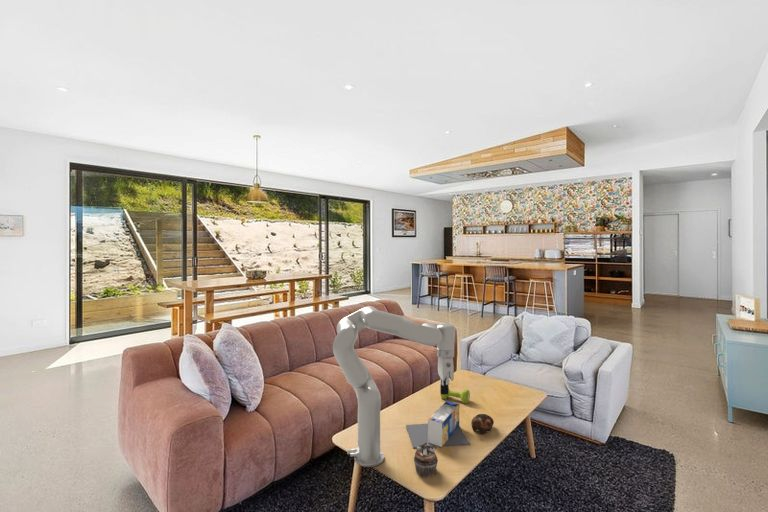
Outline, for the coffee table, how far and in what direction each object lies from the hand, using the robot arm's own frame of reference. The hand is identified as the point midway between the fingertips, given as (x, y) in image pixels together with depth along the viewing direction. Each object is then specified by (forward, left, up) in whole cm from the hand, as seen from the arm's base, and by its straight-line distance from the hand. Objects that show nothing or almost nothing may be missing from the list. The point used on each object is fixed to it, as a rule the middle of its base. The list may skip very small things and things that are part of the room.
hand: (444, 393), depth 164 cm
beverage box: (-4, +3, -19) cm, 20 cm away
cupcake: (-11, -14, -25) cm, 31 cm away
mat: (0, +12, -25) cm, 28 cm away
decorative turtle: (+23, +13, -25) cm, 37 cm away
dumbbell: (+20, +48, -26) cm, 58 cm away
